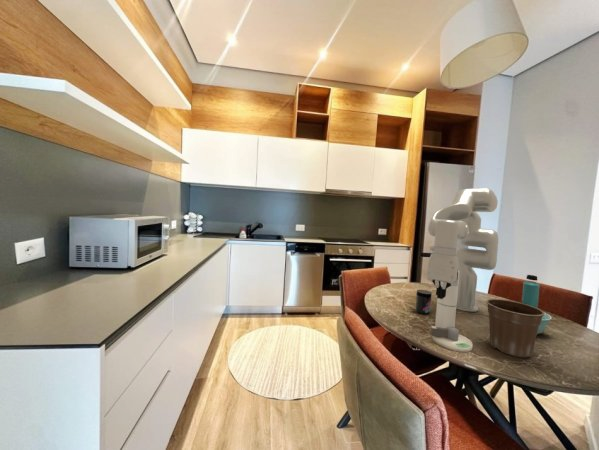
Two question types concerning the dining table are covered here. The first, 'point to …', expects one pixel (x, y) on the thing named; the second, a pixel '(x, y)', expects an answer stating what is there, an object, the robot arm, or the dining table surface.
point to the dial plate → (454, 343)
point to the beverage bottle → (530, 292)
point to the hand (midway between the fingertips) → (440, 297)
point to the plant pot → (513, 326)
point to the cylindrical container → (447, 308)
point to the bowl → (544, 323)
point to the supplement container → (423, 302)
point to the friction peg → (445, 332)
